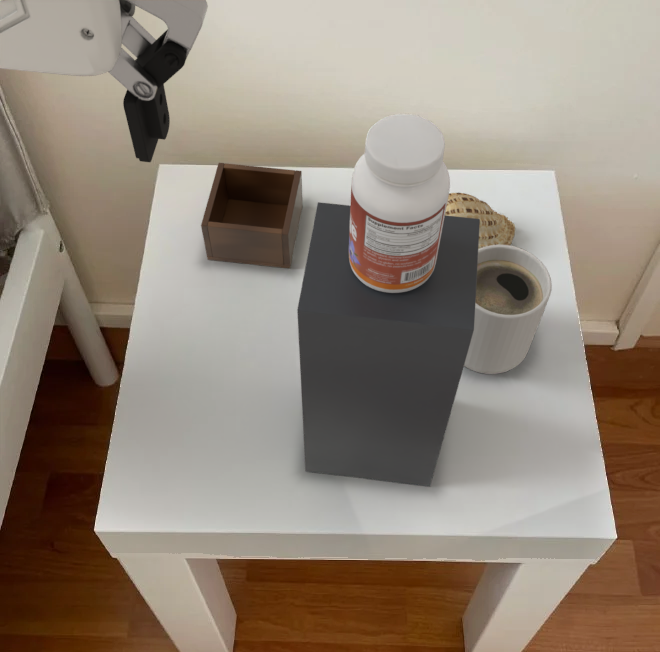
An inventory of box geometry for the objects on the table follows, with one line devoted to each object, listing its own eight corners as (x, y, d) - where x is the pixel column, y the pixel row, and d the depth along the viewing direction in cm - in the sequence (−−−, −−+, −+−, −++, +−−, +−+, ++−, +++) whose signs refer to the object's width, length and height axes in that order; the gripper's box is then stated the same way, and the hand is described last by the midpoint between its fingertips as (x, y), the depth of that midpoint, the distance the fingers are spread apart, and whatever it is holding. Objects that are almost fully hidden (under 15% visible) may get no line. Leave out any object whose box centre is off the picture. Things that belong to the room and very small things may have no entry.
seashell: (478, 225, 97) (408, 212, 92) (507, 189, 92) (436, 173, 88) (499, 275, 93) (428, 264, 88) (530, 239, 89) (457, 226, 84)
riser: (305, 471, 77) (297, 310, 55) (319, 383, 82) (317, 201, 60) (430, 487, 76) (474, 330, 54) (437, 397, 81) (480, 218, 59)
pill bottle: (363, 219, 59) (371, 93, 49) (445, 241, 58) (469, 116, 48) (336, 283, 56) (338, 162, 46) (421, 307, 55) (442, 188, 45)
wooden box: (207, 259, 90) (200, 225, 85) (223, 198, 95) (218, 162, 90) (290, 268, 90) (288, 234, 85) (302, 206, 94) (301, 170, 89)
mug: (543, 360, 84) (569, 302, 75) (460, 387, 82) (476, 330, 73) (497, 282, 89) (516, 219, 80) (418, 306, 87) (428, 244, 78)
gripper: (-362, -219, 27) (-123, 167, 42) (151, -172, 26) (207, 203, 41) (-253, -314, 30) (-70, 71, 45) (198, -275, 30) (234, 103, 45)
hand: (62, 133), depth 43 cm, fingers open, 9 cm apart
